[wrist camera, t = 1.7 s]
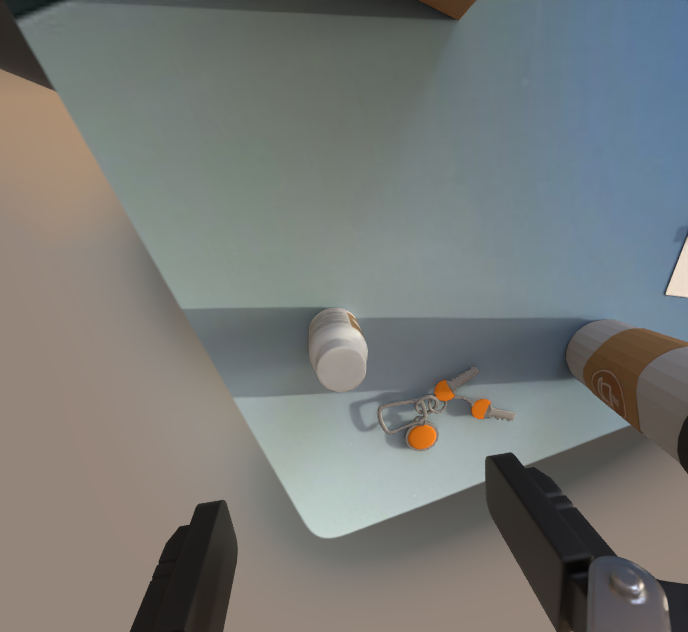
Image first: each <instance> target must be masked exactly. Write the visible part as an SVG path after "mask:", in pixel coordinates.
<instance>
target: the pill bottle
mask: <svg viewBox="0 0 688 632" xmlns="http://www.w3.org/2000/svg"><path fill="white" fill-rule="evenodd" d="M367 357H368V349H367V344H366V341H365V339H364V336H363V334H362V331H361V328H360V326H359V324H358V322H357V320H356V318H355V317H354V316H353V315H352V314H351V313H350V312H348V311H347V310H344V309H341V308H328V309H325V310H323V311H321V312H319V313H318V314H317V315H316V316H315V317H314V318H313V320H312V321H311V324H310V327H309V359H310V363H311V365H312V367H313V369H314V370H315V371H316V374H317V378H318V380H319V381H320V383H321V384H322V385H323V386H324V387H325V388H327V389H329V390H331V391H334V392H346V391H350V390H352V389H354V388H356V387H357V386H358V385H359V384H360V383H361V382H362V381H363V379H364V377H365V374H366V361H367Z"/></svg>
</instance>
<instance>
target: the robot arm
mask: <svg viewBox="0 0 688 632" xmlns="http://www.w3.org/2000/svg"><path fill="white" fill-rule="evenodd" d="M485 480H486V501H487V505H488V509H489V511H490V514H491V516H492V518H493V520H494V522H495V524H496V525H497V527H498V529H499V531H500V532H501V534H502V536H503V538H504V540H505V541H506V543H507V545H508V546H509V548H510V550H511V552H512V554H513V556H514V557H515V559H516V561H517V563H518V564H519V566H520V568H521V569H522V571H523V573H524V575H525V577H526V579H527V580H528V582H529V584H530V585H531V587H532V589H533V591H534V593H535V594H536V596H537V598H538V600H539V601H540V603H541V605H542V607H543V609H544V610H545V612H546V614H547V615H548V617H549V619H550V621H551V623H552V624H553V626H554V628H555V630H556V632H572V631H573V632H688V584H681V583H675V582H667V581H662V580H658V579H655V578H654V577H653V576H652V575H651V574H650V573H649V572H648V571H647V570H645V569H644V568H642V567H641V566H639V565H638V564H636V563H634V562H632V561H629V560H627V559H624V558H621V557H618V556H617V555H616V554H615V553H614V552H613V550H612V549H611V548H610V547H609V546H608V545H607V544H606V542H605V541H604V540H603V539H602V538H601V536H600V535H599V534H598V533H597V532H596V531H595V529H594V528H593V527H592V526H591V525H590V523H589V522H588V521H587V520H586V519H585V518H584V516H583V515H582V514H581V513H580V512H579V511H578V510H577V508H576V507H575V508H574V506H573V504H572V502H571V501H570V500H569V499H568V498H567V496H565V495H564V494H563V492H562V491H561V489H560V488H559V487H558V486H557V485H556V484H555V482H554V481H553V480H552V479H551V478H550V477H548V476H547V475H545V474H544V473H542V472H541V471H539V470H538V469H536V468H534V467H532V468H526V469H525V468H524V466H523V465H522V464H521V463H520V461H519V460H518V459H517V457H516V456H515V455H514V454H513V453H504V454H498V455H492V456H487V457H486V460H485ZM237 554H238V547H237V539H236V535H235V531H234V528H233V524H232V521H231V517H230V514H229V510H228V507H227V504H226V501H225V500H219V501H214V502H207V503H201V504H198V505H197V507H196V509H195V511H194V515H193V517H192V520H191V522H190V525H186V526H180V527H179V528H178V529H177V531H176V532H175V533H174V534H173V535H172V537H171V538H170V539H169V540H168V542H167V543H166V545H165V547H164V550H163V552H162V554H161V557H160V559H159V565H157V567H156V569H155V572H154V574H153V576H152V578H153V579H152V581H150V584H149V586H148V589H147V591H146V594H145V596H144V598H143V601H142V603H141V606H140V608H139V611H138V613H137V615H136V618H135V620H134V623H133V625H132V628H131V630H130V632H223V629H224V624H225V619H226V613H227V609H228V604H229V599H230V594H231V589H232V584H233V579H234V574H235V568H236V563H237Z"/></svg>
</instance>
